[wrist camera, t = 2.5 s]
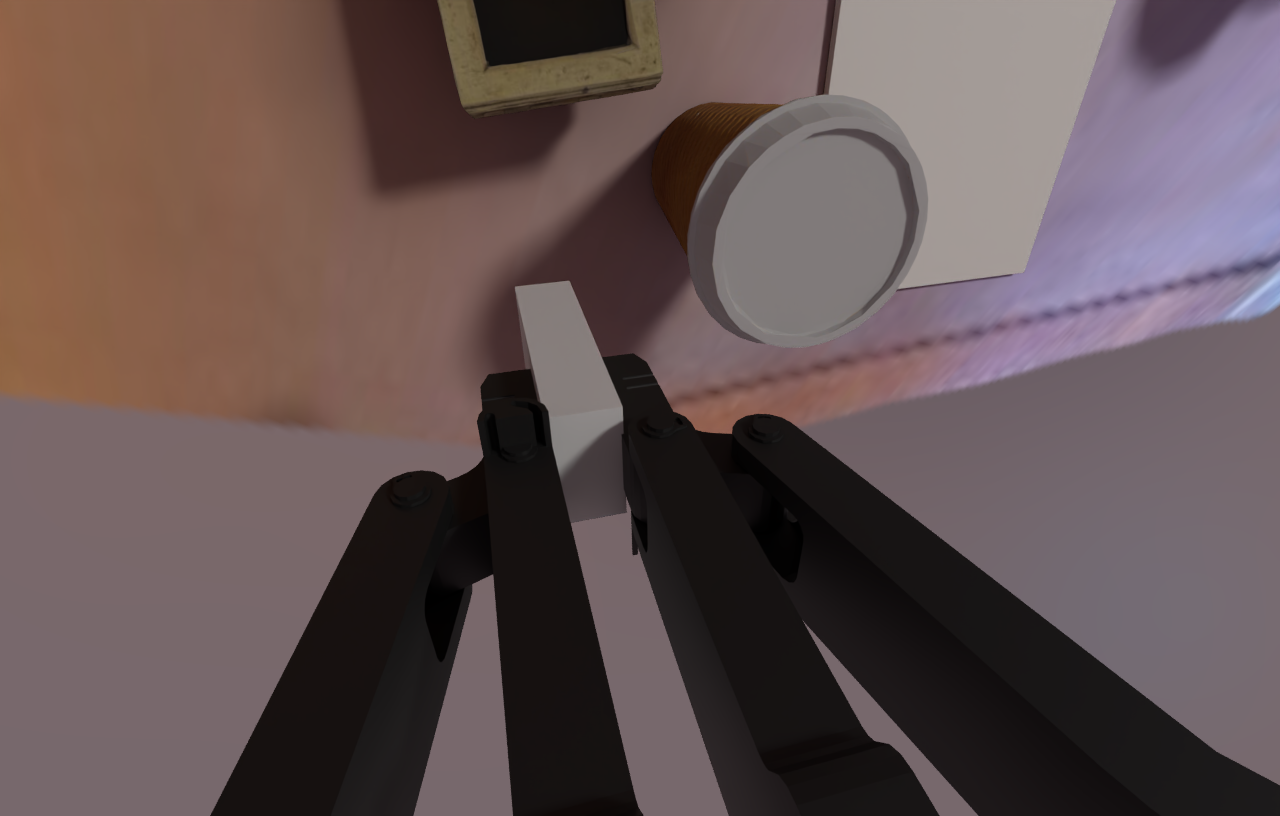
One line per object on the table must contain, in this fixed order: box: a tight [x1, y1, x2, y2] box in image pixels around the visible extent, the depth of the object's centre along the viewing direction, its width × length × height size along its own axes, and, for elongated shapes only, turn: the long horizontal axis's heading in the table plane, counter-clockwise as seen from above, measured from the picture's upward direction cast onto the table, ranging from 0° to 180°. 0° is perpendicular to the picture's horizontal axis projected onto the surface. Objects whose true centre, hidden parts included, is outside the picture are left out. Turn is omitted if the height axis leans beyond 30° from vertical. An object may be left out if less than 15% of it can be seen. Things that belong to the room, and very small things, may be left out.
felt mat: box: [824, 0, 1116, 289], centre depth 35 cm, size 16×16×1 cm
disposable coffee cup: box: [652, 95, 928, 348], centre depth 28 cm, size 10×10×12 cm
